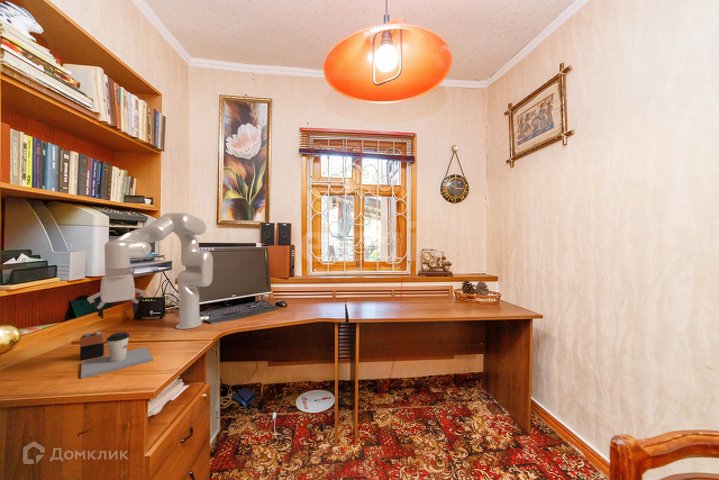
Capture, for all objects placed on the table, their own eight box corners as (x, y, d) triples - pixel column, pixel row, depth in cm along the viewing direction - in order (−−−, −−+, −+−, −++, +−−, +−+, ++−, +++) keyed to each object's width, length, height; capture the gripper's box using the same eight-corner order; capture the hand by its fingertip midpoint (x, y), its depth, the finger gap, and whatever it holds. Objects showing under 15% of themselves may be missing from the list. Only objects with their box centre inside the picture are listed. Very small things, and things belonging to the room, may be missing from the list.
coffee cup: (103, 364, 102) (103, 338, 102) (109, 358, 108) (109, 333, 108) (127, 360, 105) (127, 335, 105) (131, 354, 111) (131, 330, 111)
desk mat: (146, 349, 119) (146, 346, 119) (152, 360, 108) (152, 357, 108) (81, 363, 105) (81, 361, 105) (80, 378, 94) (80, 375, 94)
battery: (81, 357, 111) (81, 333, 111) (104, 353, 115) (104, 329, 115) (79, 361, 107) (79, 336, 107) (103, 356, 112) (103, 332, 112)
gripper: (144, 269, 115) (144, 309, 116) (86, 273, 103) (87, 318, 103) (146, 271, 110) (147, 312, 110) (86, 275, 98) (87, 322, 98)
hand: (118, 315), depth 107 cm, fingers open, 9 cm apart
